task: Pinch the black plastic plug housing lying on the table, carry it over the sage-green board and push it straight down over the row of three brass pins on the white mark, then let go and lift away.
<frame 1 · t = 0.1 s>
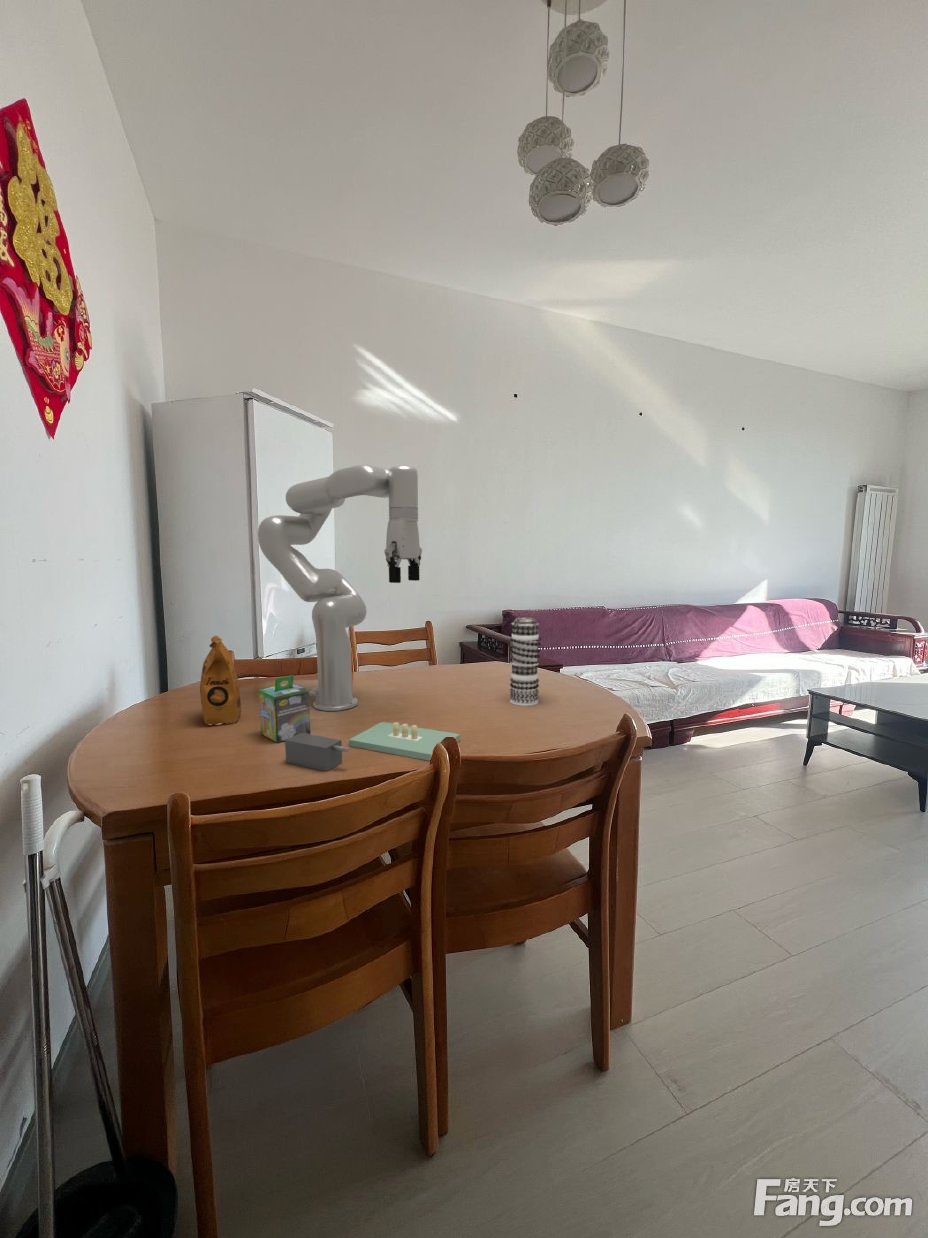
hand: (404, 581, 143), 37 cm above the table, fingers open, 9 cm apart
coffee package: (221, 719, 145), on the table
plug housing: (314, 762, 116), on the table
header board: (405, 743, 128), on the table
decorative candle: (524, 702, 161), on the table
chalk box: (285, 735, 134), on the table
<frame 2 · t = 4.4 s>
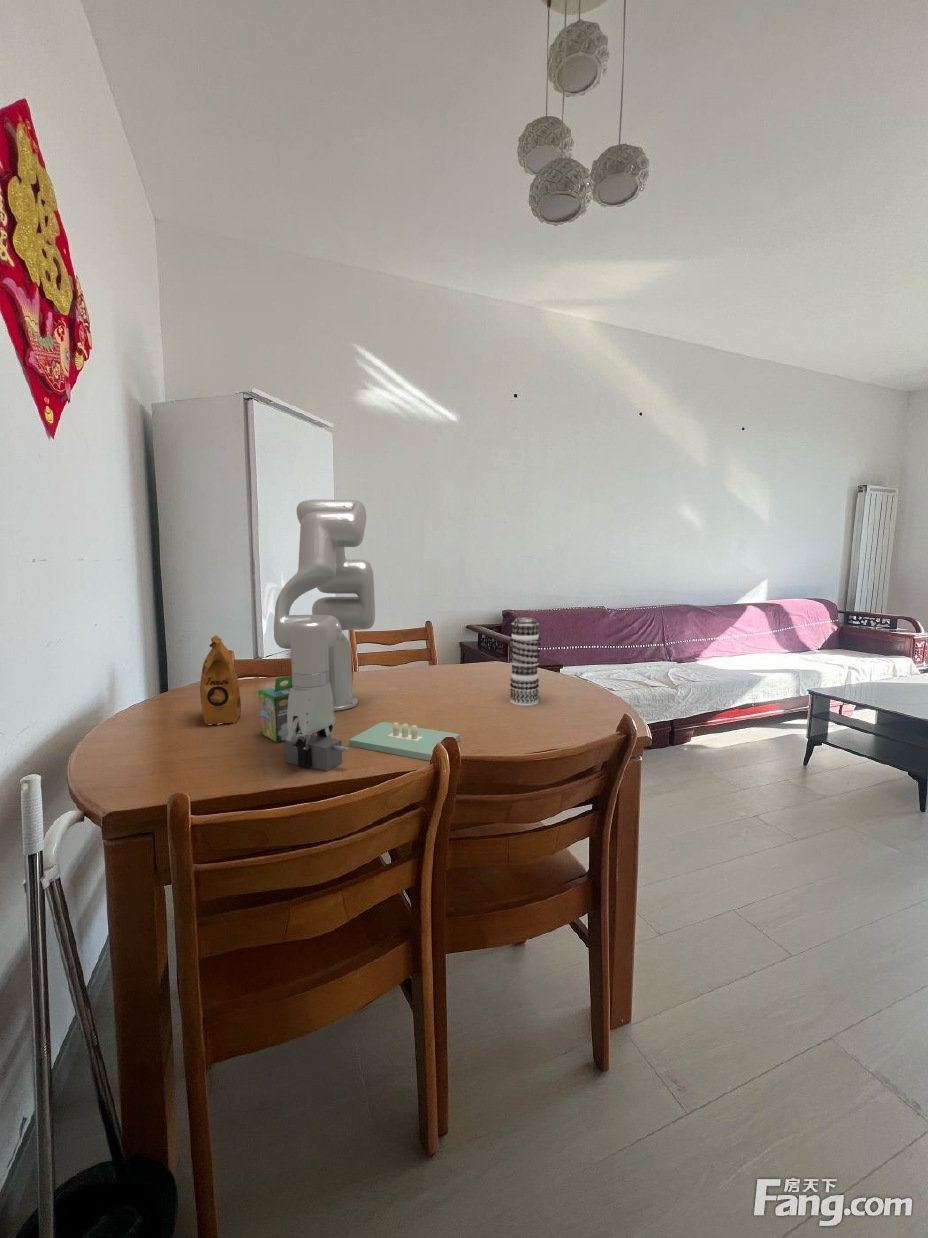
hand: (314, 760, 116), 0 cm above the table, fingers closed on plug housing, 5 cm apart
plug housing: (314, 762, 116), on the table, touching gripper
everything else where it was.
when the fingers open (2 cm above the table, at t = 10.0 s): plug housing stays where it is, resting on header board.
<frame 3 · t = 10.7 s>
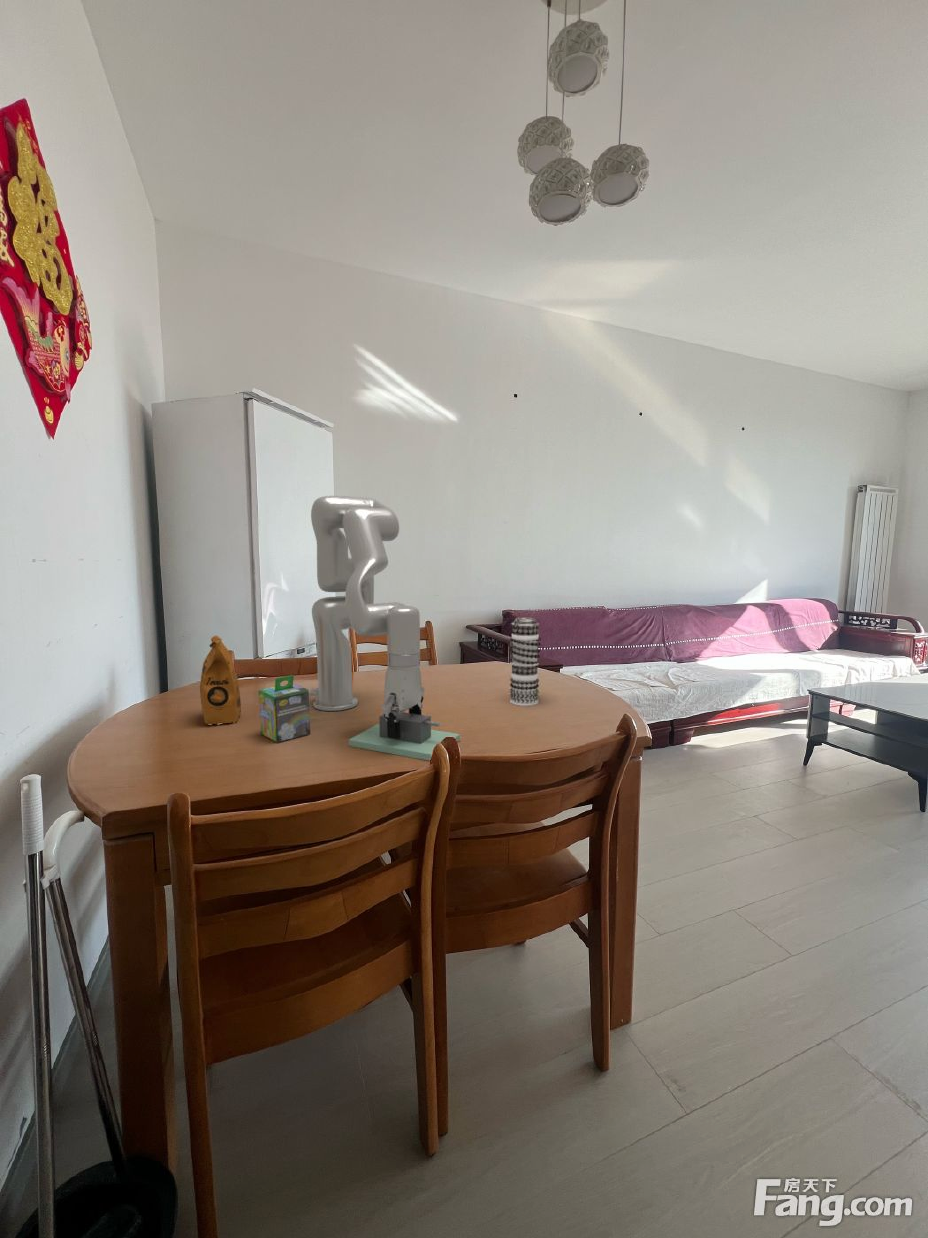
hand: (405, 731, 127), 3 cm above the table, fingers open, 9 cm apart
plug housing: (405, 736, 127), point 1 cm above the table, touching header board
everything else where it was.
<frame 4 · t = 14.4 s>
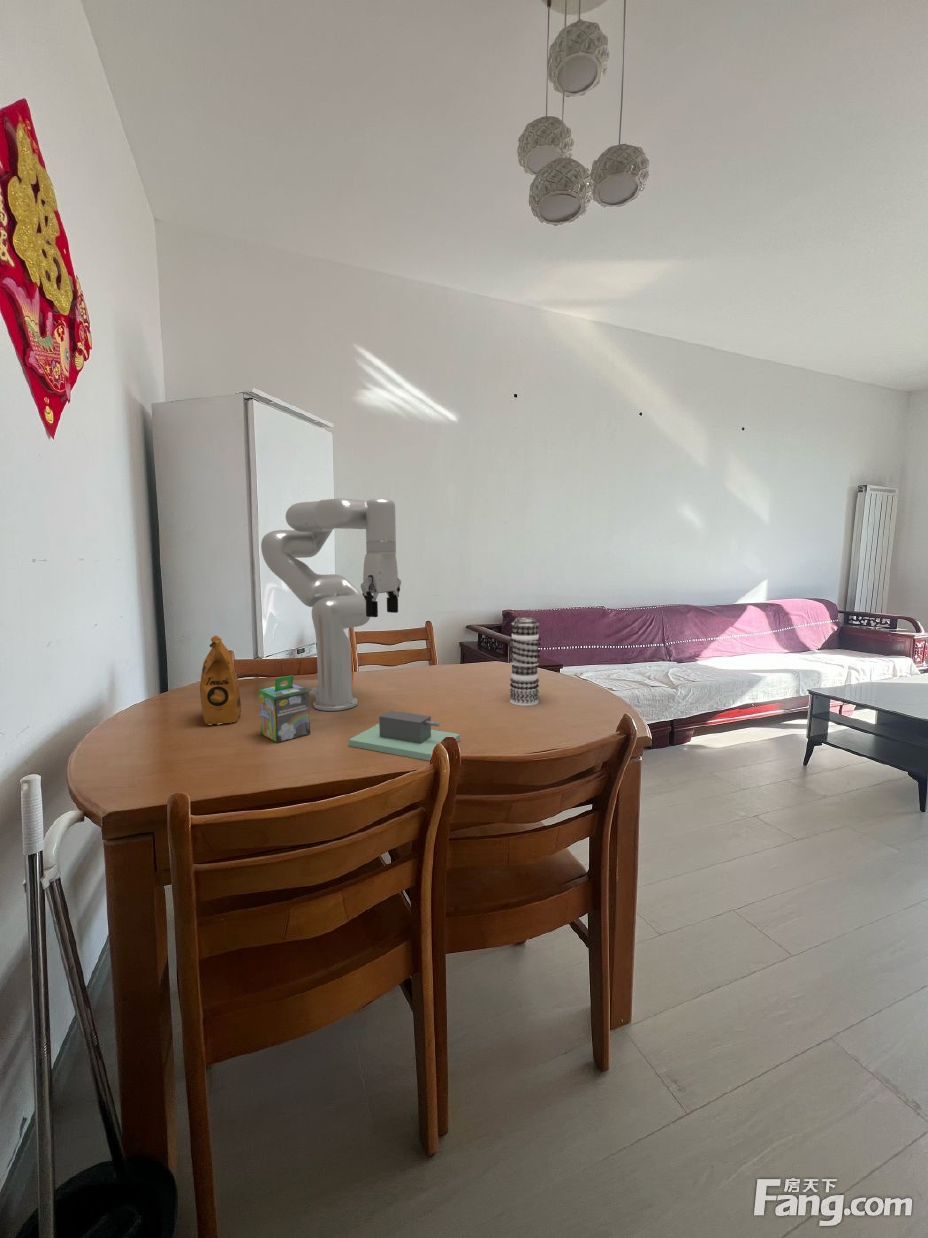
hand: (382, 614, 141), 28 cm above the table, fingers open, 9 cm apart
nothing on the table moved.
at the end: plug housing 0.0 cm off-centre on the header board, point 1.5 cm above the header board's base; plug housing tilted 0°; the gripper is holding nothing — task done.
